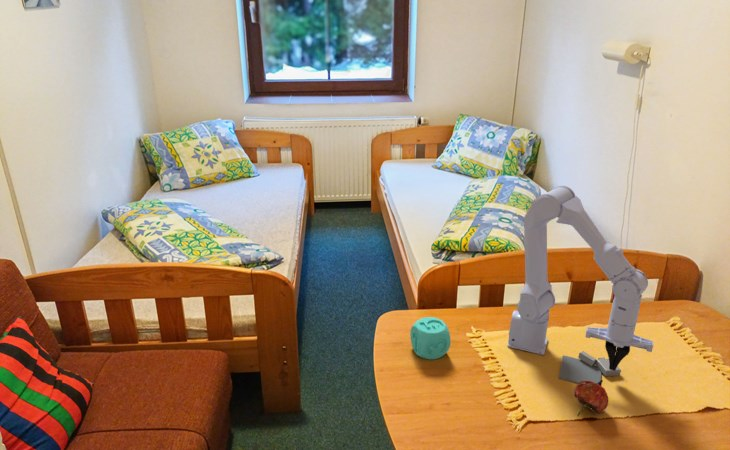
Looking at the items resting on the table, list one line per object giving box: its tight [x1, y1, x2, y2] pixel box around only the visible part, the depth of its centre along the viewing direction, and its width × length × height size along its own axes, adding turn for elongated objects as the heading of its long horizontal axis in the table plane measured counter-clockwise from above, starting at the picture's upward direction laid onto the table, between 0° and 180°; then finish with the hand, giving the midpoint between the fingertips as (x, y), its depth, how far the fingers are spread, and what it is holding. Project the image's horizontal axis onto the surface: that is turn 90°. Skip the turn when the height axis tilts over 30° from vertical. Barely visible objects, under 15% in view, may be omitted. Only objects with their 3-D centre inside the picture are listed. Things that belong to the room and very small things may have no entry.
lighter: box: [577, 350, 622, 377], centre depth 140 cm, size 7×2×8 cm
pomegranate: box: [573, 379, 609, 417], centre depth 125 cm, size 7×7×10 cm
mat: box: [558, 354, 602, 384], centre depth 139 cm, size 10×10×1 cm
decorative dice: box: [409, 316, 451, 360], centre depth 145 cm, size 8×8×8 cm
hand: (612, 367), depth 135 cm, fingers closed
